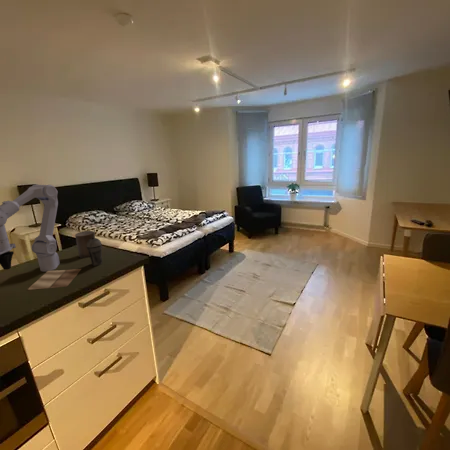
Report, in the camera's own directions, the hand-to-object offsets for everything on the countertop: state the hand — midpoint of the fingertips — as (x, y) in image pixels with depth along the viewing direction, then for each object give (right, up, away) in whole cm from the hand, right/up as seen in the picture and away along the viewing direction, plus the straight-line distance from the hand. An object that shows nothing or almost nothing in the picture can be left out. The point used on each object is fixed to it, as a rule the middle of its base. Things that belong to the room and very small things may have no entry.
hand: (7, 268), depth 109 cm
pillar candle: (+15, +1, +38) cm, 41 cm away
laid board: (+21, -7, +9) cm, 24 cm away
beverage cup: (+27, -3, +24) cm, 37 cm away
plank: (+13, -7, +8) cm, 17 cm away
